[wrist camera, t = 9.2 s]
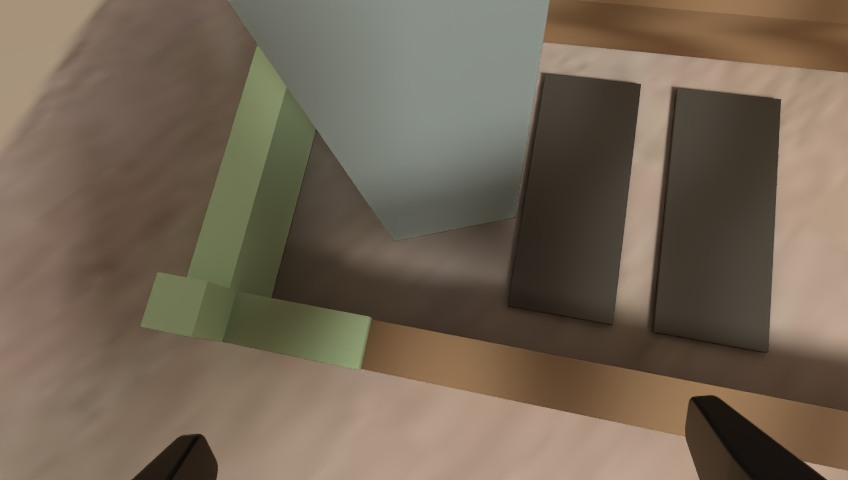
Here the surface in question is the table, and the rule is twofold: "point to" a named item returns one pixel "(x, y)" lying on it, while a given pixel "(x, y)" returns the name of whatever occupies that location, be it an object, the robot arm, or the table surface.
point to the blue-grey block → (413, 98)
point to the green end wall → (241, 212)
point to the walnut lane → (604, 227)
